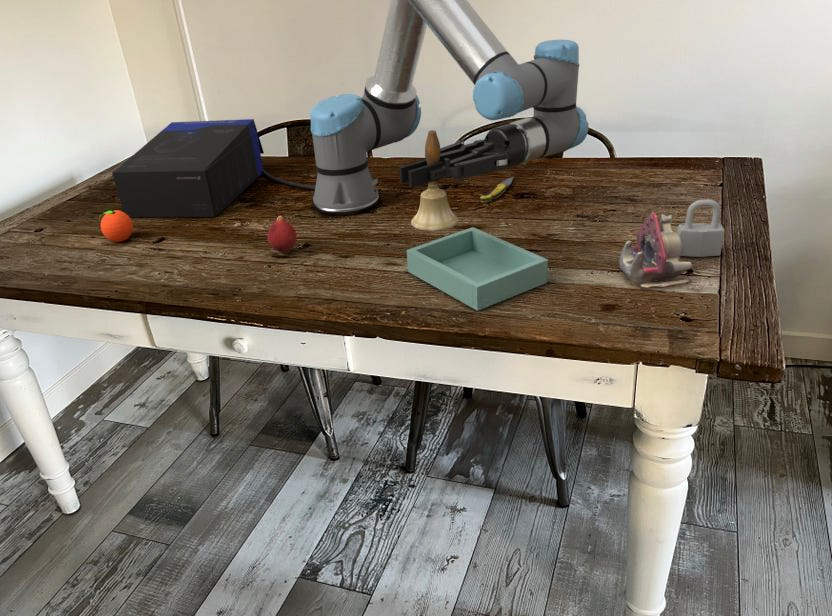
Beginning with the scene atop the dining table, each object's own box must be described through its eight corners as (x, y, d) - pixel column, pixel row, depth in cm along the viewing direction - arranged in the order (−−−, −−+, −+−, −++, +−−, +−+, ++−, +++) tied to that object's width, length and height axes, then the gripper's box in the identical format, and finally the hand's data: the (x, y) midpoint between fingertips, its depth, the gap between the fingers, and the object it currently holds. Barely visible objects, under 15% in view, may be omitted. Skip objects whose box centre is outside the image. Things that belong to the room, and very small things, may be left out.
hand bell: (431, 210, 136) (427, 122, 128) (467, 219, 131) (466, 128, 123) (401, 225, 132) (395, 135, 123) (437, 235, 126) (433, 141, 118)
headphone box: (267, 169, 203) (259, 115, 195) (215, 217, 174) (202, 157, 167) (186, 170, 209) (175, 118, 202) (123, 217, 181) (107, 159, 174)
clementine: (95, 245, 167) (86, 215, 163) (113, 233, 172) (105, 204, 169) (124, 247, 164) (116, 217, 160) (142, 235, 170) (134, 205, 166)
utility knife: (505, 173, 176) (517, 174, 175) (505, 178, 177) (517, 179, 175) (479, 197, 164) (492, 198, 163) (479, 202, 165) (492, 203, 164)
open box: (407, 271, 139) (406, 250, 137) (473, 248, 145) (472, 226, 142) (477, 310, 123) (477, 287, 121) (547, 282, 129) (548, 259, 127)
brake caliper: (597, 252, 132) (644, 195, 127) (642, 280, 135) (689, 226, 130) (622, 280, 122) (673, 219, 117) (670, 309, 126) (721, 251, 121)
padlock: (677, 257, 132) (685, 204, 127) (674, 248, 135) (681, 195, 130) (721, 257, 131) (730, 203, 125) (716, 248, 134) (725, 194, 129)
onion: (277, 261, 149) (270, 224, 145) (266, 252, 153) (260, 216, 149) (303, 254, 151) (297, 216, 147) (292, 245, 155) (286, 208, 151)
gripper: (542, 174, 130) (433, 210, 120) (486, 156, 141) (382, 188, 132) (544, 131, 126) (431, 165, 116) (485, 116, 137) (378, 146, 128)
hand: (405, 177), depth 124 cm, fingers closed on hand bell, 2 cm apart
